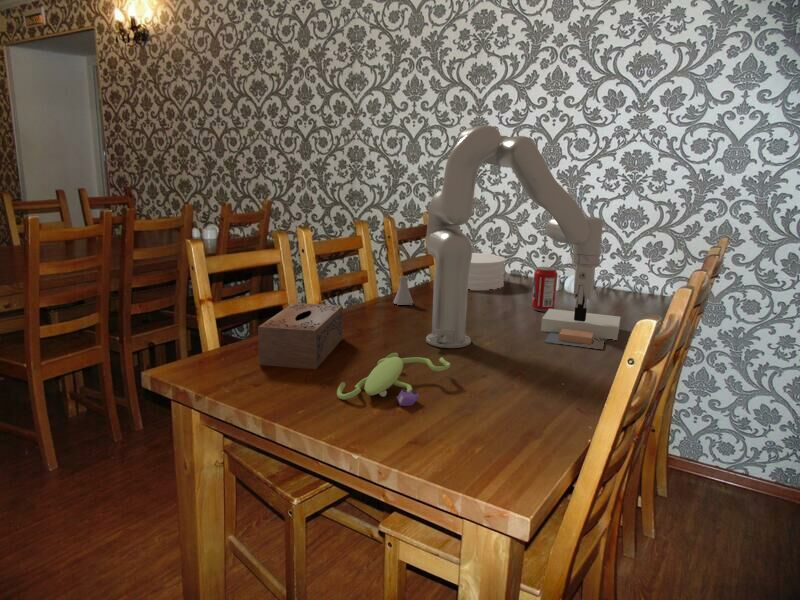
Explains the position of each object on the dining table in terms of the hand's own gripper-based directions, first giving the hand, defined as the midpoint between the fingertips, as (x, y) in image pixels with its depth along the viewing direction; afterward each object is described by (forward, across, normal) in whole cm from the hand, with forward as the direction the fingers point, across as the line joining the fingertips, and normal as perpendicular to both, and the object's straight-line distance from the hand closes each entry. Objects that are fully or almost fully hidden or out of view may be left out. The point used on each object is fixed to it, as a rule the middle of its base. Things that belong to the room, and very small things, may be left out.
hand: (579, 320), depth 170 cm
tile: (+2, -6, 0) cm, 7 cm away
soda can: (+5, +28, +15) cm, 32 cm away
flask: (+5, +12, +62) cm, 63 cm away
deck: (+5, +6, 0) cm, 8 cm away
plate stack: (+5, +61, +51) cm, 79 cm away
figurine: (+5, -61, +33) cm, 70 cm away
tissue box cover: (+5, -50, +65) cm, 82 cm away
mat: (+5, -6, 0) cm, 8 cm away
